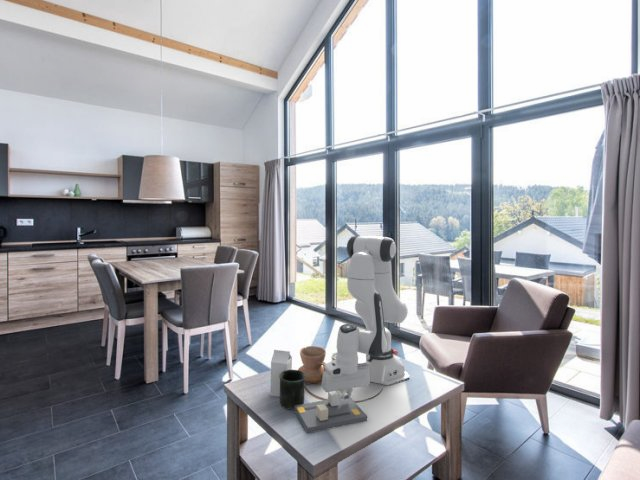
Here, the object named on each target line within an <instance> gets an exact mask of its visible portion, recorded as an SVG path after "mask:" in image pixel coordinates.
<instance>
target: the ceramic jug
mask: <svg viewBox="0 0 640 480" xmlns="http://www.w3.org/2000/svg"><path fill="white" fill-rule="evenodd" d="M326 354H327V351H326V349H325V348H324V347H320V346H314V345H309V346H305V347H302V348H300V349H299V355H300V360H301V363H302V365H301V366H299V367H298V369H297V370H299V371H302V372H303V373H305V375H306V378H305V384H308V385H318V384H322V377H323V373H324V371H326V370H325V368H324V366H325V364H327V363H326V362H325V358H326Z"/></svg>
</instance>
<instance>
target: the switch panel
mask: <svg viewBox="0 0 640 480" xmlns="http://www.w3.org/2000/svg"><path fill="white" fill-rule="evenodd" d="M320 404H325V406H326V407H327V408H328V420H323V421H320V420H319V418H318V417H317V415H316V414H317V405H320ZM293 410H294V412H295V414H296V416H297V418H299V420H300V422H301V424H302V425H303V427H304V429H305V430H306V432H307V434H311V433H315V432H319V431H320V432H321V431H324V430H329V429H335V428H341V427H345V426H348V425H349V426H350V425H354V424H361V423H364V422H368V415H367V414H366V413H365V411H364V410H362V408H361V407H360V406H359V405H358V404H357V403H356V402H355V401H354V400H353V398H351V397H350V398H349V399H342V397H339V405H337V406H331V405H330V404H329V402H328V399H324V400H319V401H318V400H317V401H312V402H307V403H304V404H300V405H295V406H294V409H293Z"/></svg>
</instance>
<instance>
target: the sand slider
mask: <svg viewBox="0 0 640 480" xmlns="http://www.w3.org/2000/svg"><path fill="white" fill-rule="evenodd" d="M316 415H317V417H318V418H319V420H320V421H323V420H328V408H327V407H326V406H325V404H320V405H317V414H316Z"/></svg>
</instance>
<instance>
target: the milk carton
mask: <svg viewBox="0 0 640 480" xmlns="http://www.w3.org/2000/svg"><path fill="white" fill-rule="evenodd" d="M292 361H293V357H292V355H291V351H289V350H280V349H273V355H272V357H271V361H270V387H269V388H270V389H269V391H270V394H269V395H270V397H278V398H280V378H279V374H280V373H281V372H283V371H287V370H293V369H292V368H293V365H292V363H293V362H292Z"/></svg>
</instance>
